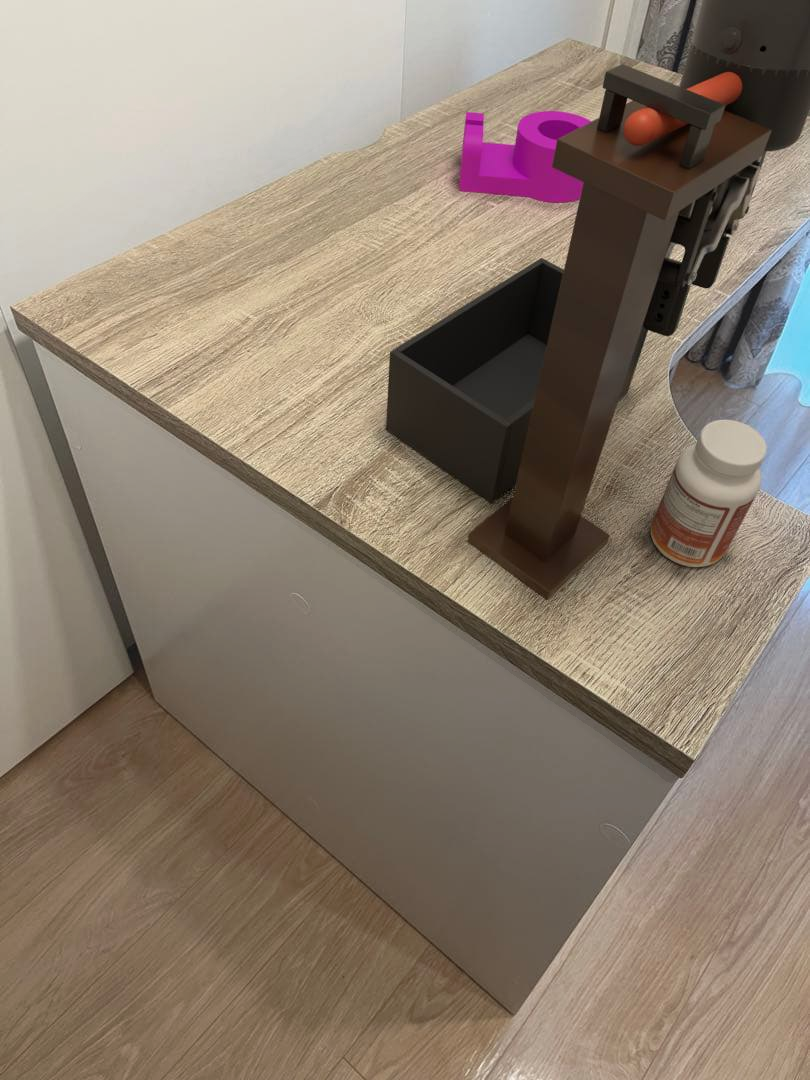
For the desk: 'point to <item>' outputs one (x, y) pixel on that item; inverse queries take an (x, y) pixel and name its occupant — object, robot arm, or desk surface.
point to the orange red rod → (657, 124)
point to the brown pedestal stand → (605, 308)
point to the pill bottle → (709, 494)
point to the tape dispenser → (520, 158)
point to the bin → (479, 380)
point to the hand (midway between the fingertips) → (678, 306)
